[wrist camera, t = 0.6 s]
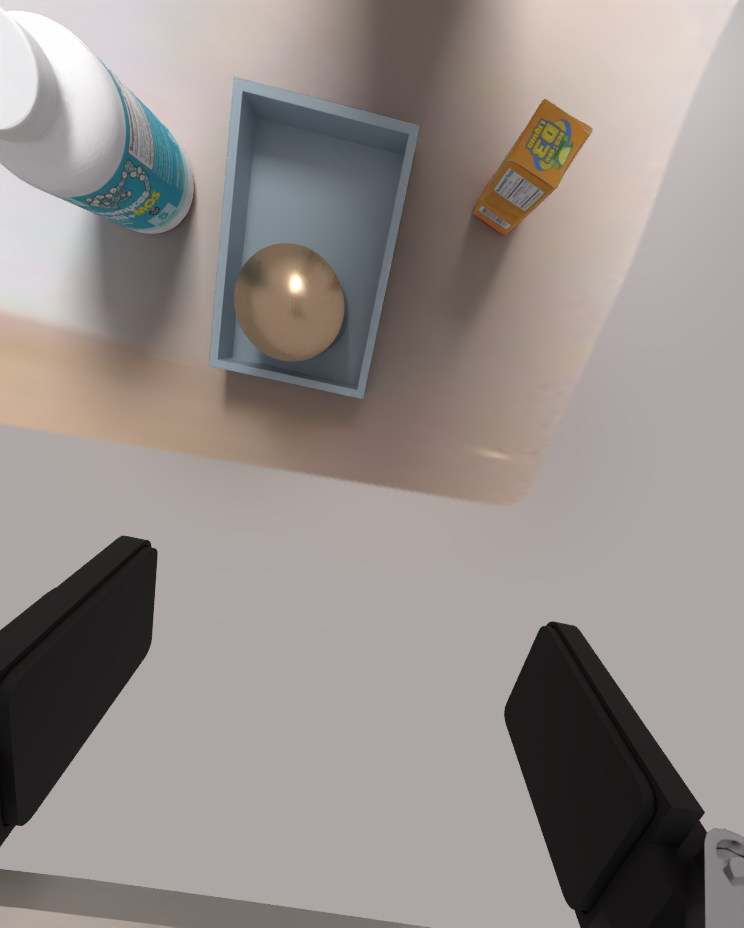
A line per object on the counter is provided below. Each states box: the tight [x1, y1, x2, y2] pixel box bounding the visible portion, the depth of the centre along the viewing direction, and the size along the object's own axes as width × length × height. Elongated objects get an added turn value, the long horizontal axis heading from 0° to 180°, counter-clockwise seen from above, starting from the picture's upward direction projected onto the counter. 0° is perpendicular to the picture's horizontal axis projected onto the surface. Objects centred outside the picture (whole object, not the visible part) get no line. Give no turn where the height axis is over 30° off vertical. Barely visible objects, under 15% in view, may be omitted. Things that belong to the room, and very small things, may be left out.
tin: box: [234, 243, 349, 361], centre depth 29 cm, size 7×7×6 cm
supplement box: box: [472, 99, 592, 235], centre depth 25 cm, size 3×3×10 cm
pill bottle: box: [0, 8, 194, 234], centre depth 23 cm, size 8×7×14 cm
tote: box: [209, 77, 420, 399], centre depth 30 cm, size 18×12×4 cm, turn 168°
